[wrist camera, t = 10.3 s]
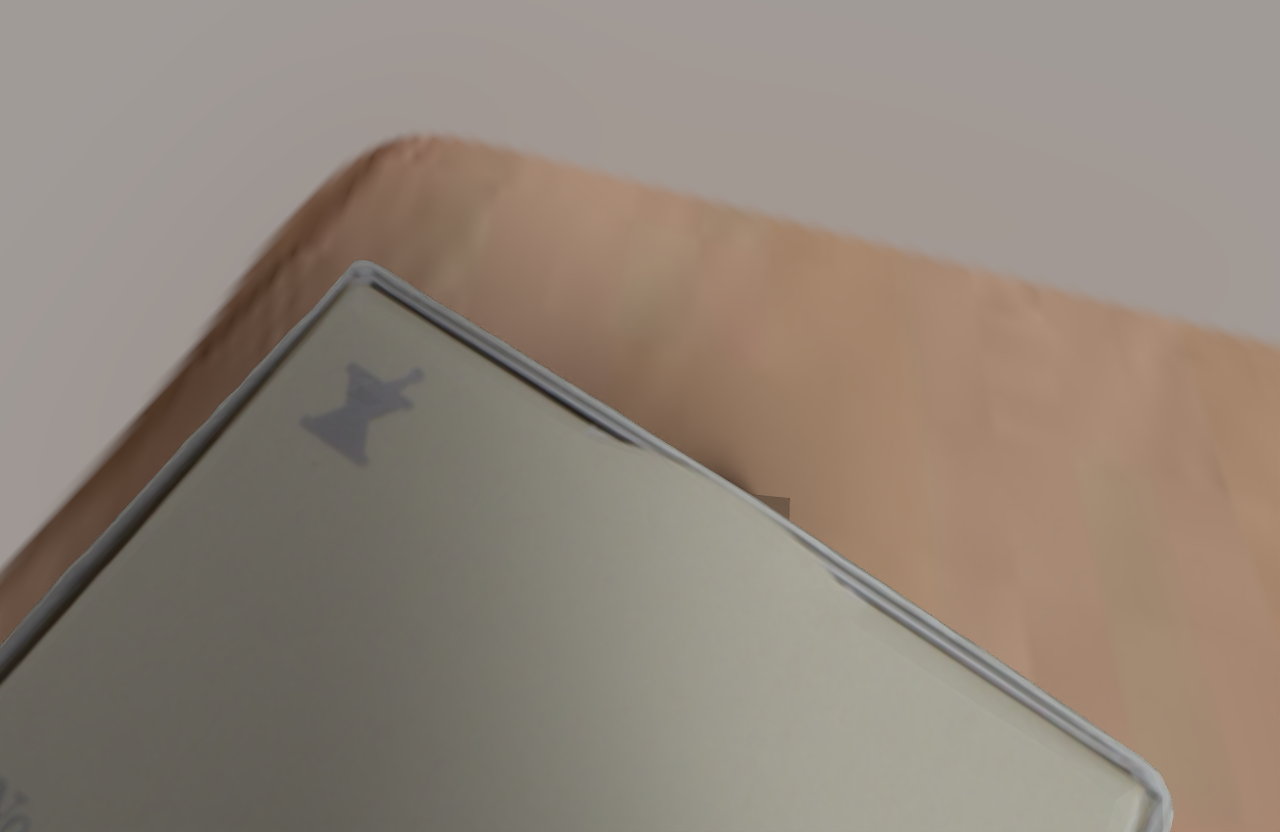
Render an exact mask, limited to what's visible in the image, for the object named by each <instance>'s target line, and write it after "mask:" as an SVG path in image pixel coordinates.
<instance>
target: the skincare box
mask: <svg viewBox="0 0 1280 832" xmlns="http://www.w3.org/2000/svg"><path fill="white" fill-rule="evenodd" d="M1173 816H1174V812H1173V804H1172V797H1171V795H1170V793H1169V791H1168V789H1167V787H1166V785H1165V783H1164V781H1163V779H1162V777H1161V775H1160V773H1159V772H1158V771H1157V770H1156V769H1155V768H1154V767H1153V766H1152V765H1150V764H1149V763H1148V762H1147V761H1146V760H1144V759H1143V758H1142V757H1141V756H1140V755H1138V754H1137V753H1135V752H1134V751H1132V750H1131V749H1129V748H1128V747H1126V746H1124V745H1123V744H1121V743H1120V742H1118V741H1117V740H1116V739H1114V738H1113V737H1111V736H1110V735H1108V734H1107V733H1106V732H1104V731H1103V730H1101V729H1100V728H1098V727H1097V726H1095V725H1094V724H1093V723H1091V722H1090V721H1088V720H1087V719H1085V718H1084V717H1083V716H1081V715H1080V714H1078V713H1077V712H1075V711H1074V710H1072V709H1071V708H1069V707H1068V706H1066V705H1065V704H1063V703H1062V702H1060V701H1059V700H1057V699H1056V698H1054V697H1053V696H1052V695H1050V694H1049V693H1047V692H1046V691H1044V690H1043V689H1041V688H1040V687H1038V686H1037V685H1035V684H1034V683H1032V682H1031V681H1029V680H1028V679H1027V678H1025V677H1024V676H1022V675H1021V674H1019V673H1018V672H1016V671H1015V670H1013V669H1012V668H1011V667H1009V666H1008V665H1006V664H1005V663H1003V662H1002V661H1000V660H999V659H997V658H996V657H994V656H993V655H992V654H990V653H989V652H987V651H986V650H984V649H983V648H981V647H980V646H978V645H976V644H975V643H973V642H972V641H970V640H968V639H967V638H965V637H964V636H962V635H961V634H959V633H957V632H956V631H954V630H953V629H951V628H949V627H948V626H946V625H945V624H943V623H942V622H941V621H939V620H938V619H936V618H935V617H933V616H932V615H930V614H929V613H927V612H926V611H924V610H923V609H921V608H920V607H919V606H917V605H916V604H914V603H913V602H911V601H910V600H908V599H907V598H905V597H904V596H902V595H901V594H899V593H898V592H896V591H895V590H893V589H892V588H890V587H889V586H887V585H886V584H884V583H883V582H881V581H880V580H878V579H877V578H875V577H874V576H872V575H871V574H869V573H868V572H866V571H865V570H863V569H862V568H860V567H859V566H857V565H856V564H854V563H853V562H851V561H850V560H848V559H847V558H845V557H844V556H842V555H841V554H839V553H838V552H836V551H835V550H833V549H832V548H830V547H829V546H827V545H826V544H824V543H823V542H821V541H820V540H818V539H817V538H815V537H814V536H812V535H811V534H809V533H808V532H806V531H805V530H803V529H802V528H800V527H799V526H797V525H796V524H794V523H793V522H791V521H790V520H788V519H787V518H785V517H784V516H782V515H781V514H779V513H778V512H776V511H775V510H773V509H772V508H770V507H769V506H767V505H766V504H764V503H763V502H761V501H760V500H758V499H757V498H755V497H754V496H752V495H750V494H749V493H747V492H745V491H744V490H742V489H741V488H739V487H737V486H736V485H734V484H732V483H731V482H729V481H728V480H726V479H724V478H723V477H721V476H720V475H718V474H716V473H715V472H713V471H711V470H710V469H708V468H707V467H705V466H703V465H702V464H700V463H698V462H697V461H695V460H694V459H692V458H690V457H689V456H687V455H685V454H684V453H682V452H681V451H679V450H677V449H676V448H674V447H672V446H671V445H669V444H668V443H666V442H664V441H663V440H661V439H660V438H658V437H656V436H655V435H653V434H651V433H650V432H648V431H647V430H645V429H644V428H642V427H641V426H639V425H638V424H636V423H634V422H633V421H631V420H630V419H628V418H627V417H625V416H624V415H622V414H621V413H619V412H618V411H616V410H615V409H613V408H611V407H610V406H608V405H606V404H605V403H603V402H601V401H600V400H598V399H596V398H595V397H593V396H591V395H589V394H588V393H586V392H584V391H583V390H581V389H579V388H578V387H576V386H574V385H573V384H571V383H570V382H568V381H567V380H565V379H563V378H561V377H560V376H558V375H557V374H555V373H553V372H552V371H550V370H549V369H547V368H545V367H544V366H542V365H541V364H539V363H537V362H536V361H534V360H533V359H531V358H529V357H528V356H526V355H525V354H523V353H521V352H520V351H518V350H517V349H515V348H513V347H512V346H510V345H509V344H507V343H505V342H504V341H502V340H501V339H499V338H497V337H496V336H494V335H492V334H490V333H489V332H487V331H485V330H484V329H482V328H480V327H479V326H477V325H476V324H474V323H473V322H471V321H470V320H468V319H467V318H465V317H463V316H462V315H460V314H459V313H457V312H455V311H453V310H451V309H449V308H448V307H446V306H444V305H442V304H440V303H439V302H437V301H435V300H434V299H432V298H431V297H429V296H428V295H426V294H425V293H423V292H421V291H420V290H418V289H417V288H415V287H414V286H412V285H410V284H409V283H407V282H406V281H404V280H402V279H401V278H399V277H398V276H397V275H395V274H394V273H392V272H391V271H390V270H388V269H386V268H384V267H382V266H380V265H378V264H376V263H374V262H372V261H370V260H356V261H354V262H353V263H352V264H351V266H350V267H349V268H348V269H347V270H346V271H345V272H344V273H343V275H342V276H341V277H340V278H339V279H338V280H337V281H336V282H335V284H334V285H333V286H332V287H331V288H330V289H329V290H328V292H327V293H326V294H325V295H324V296H323V297H322V299H321V300H320V301H319V302H318V303H317V304H316V305H315V307H314V308H313V309H312V310H311V311H310V312H309V313H308V314H307V315H306V316H304V317H303V318H302V319H301V320H300V321H299V322H298V323H297V324H296V325H295V326H294V327H293V328H292V329H291V330H290V331H289V332H288V333H287V334H286V335H285V336H284V337H283V338H282V339H281V340H280V342H279V343H278V344H277V345H276V346H275V347H274V348H273V350H272V351H271V352H270V353H269V354H268V355H267V356H266V357H265V358H264V359H263V360H262V361H261V362H260V363H259V364H258V365H257V366H256V367H255V368H254V369H253V370H252V371H251V373H250V374H249V375H248V376H247V377H246V379H245V380H244V381H243V382H242V383H241V384H240V386H239V387H238V388H237V389H236V390H235V391H233V392H232V393H231V394H230V395H229V396H228V397H227V398H226V399H225V400H224V401H223V402H222V403H221V404H220V405H219V406H218V407H217V408H216V409H215V411H214V412H213V413H212V415H211V416H210V417H209V419H208V420H207V421H206V422H205V423H204V424H202V425H201V426H200V427H199V428H198V429H197V430H196V431H195V432H194V433H193V434H192V435H191V436H190V437H189V438H188V439H187V440H186V441H185V442H184V443H183V445H182V446H181V447H180V448H179V449H178V450H177V452H176V453H175V454H174V455H173V456H172V457H171V458H170V460H169V461H168V462H167V463H166V464H165V465H164V466H163V467H162V468H161V469H160V471H159V472H158V473H157V474H156V475H155V476H154V477H153V478H152V479H151V480H150V482H149V483H148V484H147V485H146V486H145V487H144V488H143V489H142V490H141V491H140V492H139V494H138V495H137V496H136V497H135V498H134V499H133V500H132V501H131V502H130V503H129V504H128V505H127V506H126V507H125V509H124V510H123V511H122V512H121V513H120V514H119V515H118V516H117V517H116V519H115V520H114V521H113V522H112V523H111V525H110V526H109V527H108V528H107V529H106V530H105V531H104V532H103V533H102V534H101V535H100V536H99V537H98V538H97V539H96V540H95V542H94V543H93V544H92V545H91V546H90V547H89V548H88V549H87V550H86V551H85V552H84V553H83V554H82V555H81V556H80V557H79V558H78V559H77V560H76V561H75V562H74V563H73V564H72V565H71V566H69V567H68V568H67V569H66V570H65V572H64V573H63V574H62V575H61V576H60V578H59V579H58V580H57V581H56V582H55V584H54V585H53V586H52V587H51V588H50V590H49V591H48V592H47V593H46V594H45V595H44V596H43V597H42V598H41V599H40V601H39V602H38V603H37V604H36V605H35V606H34V607H33V608H32V610H31V611H30V612H29V613H28V614H27V615H26V616H25V617H24V619H23V620H22V621H21V622H20V623H19V624H18V626H17V627H16V628H15V629H14V630H13V632H12V633H11V634H10V635H9V636H8V637H7V638H6V639H5V641H4V642H3V643H2V644H1V645H0V832H1170V830H1171V825H1172V820H1173Z"/></svg>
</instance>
